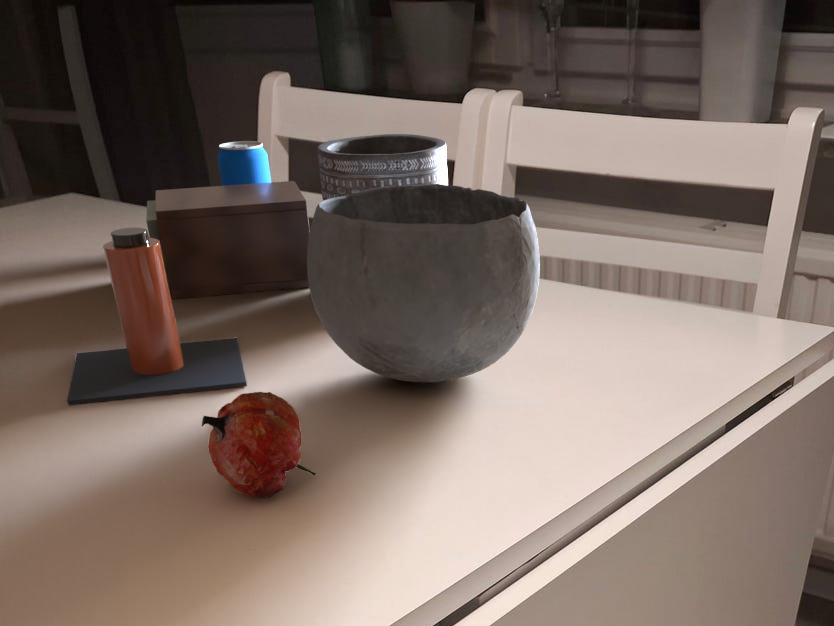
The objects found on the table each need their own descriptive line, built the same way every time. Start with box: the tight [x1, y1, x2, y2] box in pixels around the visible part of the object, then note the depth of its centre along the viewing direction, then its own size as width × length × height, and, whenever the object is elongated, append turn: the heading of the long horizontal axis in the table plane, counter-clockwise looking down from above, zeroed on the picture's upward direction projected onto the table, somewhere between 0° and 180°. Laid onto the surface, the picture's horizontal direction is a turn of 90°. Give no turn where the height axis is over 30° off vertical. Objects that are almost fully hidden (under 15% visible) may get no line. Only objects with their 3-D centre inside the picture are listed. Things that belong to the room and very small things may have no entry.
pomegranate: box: [201, 391, 317, 498], centre depth 74 cm, size 7×7×10 cm
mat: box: [66, 337, 248, 406], centre depth 97 cm, size 16×14×1 cm
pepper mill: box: [102, 227, 184, 375], centre depth 94 cm, size 5×5×12 cm
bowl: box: [307, 184, 541, 384], centre depth 90 cm, size 20×20×15 cm
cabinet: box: [155, 180, 311, 300], centre depth 121 cm, size 17×13×9 cm
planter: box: [317, 133, 449, 201], centre depth 115 cm, size 14×14×15 cm
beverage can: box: [217, 140, 272, 186], centre depth 134 cm, size 6×6×12 cm
